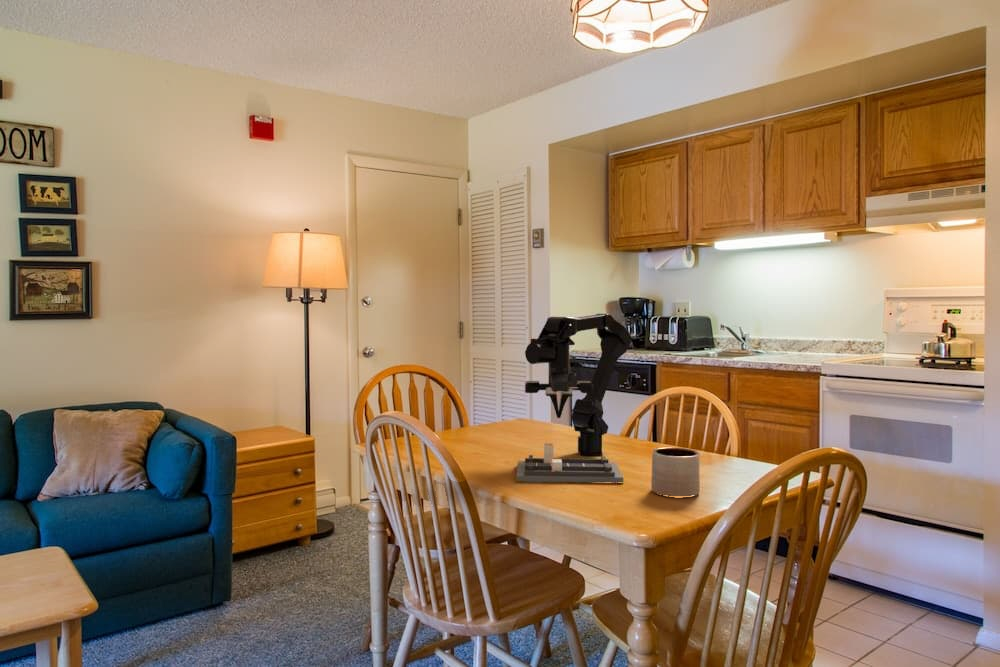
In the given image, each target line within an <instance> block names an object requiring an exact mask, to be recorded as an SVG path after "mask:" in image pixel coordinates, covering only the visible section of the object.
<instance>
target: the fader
mask: <svg viewBox="0 0 1000 667" xmlns="http://www.w3.org/2000/svg"><path fill="white" fill-rule="evenodd" d="M543 458H544V463H552V459H553V458H554V443H549V442H548V443H544V442H543Z"/></svg>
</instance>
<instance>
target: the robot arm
mask: <svg viewBox="0 0 1000 667" xmlns="http://www.w3.org/2000/svg"><path fill="white" fill-rule="evenodd" d="M594 329H596V335H597V336H598V337H599V338H600V344H599V345H600V348H601V349H600V350H601V355H600V357H599V360H598V362H597V365H596V368H595V371H594V373H593V376H592V379H591V381H590V380H578V378H577V373H574V372H573V373H572V372H570V346H574V345H575V344H576V343H575V342H574V340H573V339H571V337H572V336H575V335H576V334H577V333H579V332H583V331H589V330H594ZM631 342H632V335H631V333H630V332H629V330H628V329H627V328H626V327H625V326H624V325H623V324H621V322H619V321H617V320H616V319H614V317H613V316H612V315H611V314H610V313H596V314H592V315H585V316H578V317H572V316H549V317H547V319H546V321H545V324H544V326H543V328H542V329H541V332H540V333H539V335H538V337H537V338H531V339H530V343H529V344H527V346H526V349H525V351H524V355H525V359H526V360H527V362H528V363H529V364H531V365H537V364H538V365H539V364H548V383H540V380H526V382H524V393H526V394H537V393H539V391H545V397H549V398H550V400H551V403H552V405H553V409H554V411H555V414H556V418H557V419H561V417H562V413H563V410H564V407H565V404H566V403H567V400H568V398H569V397H572V396H573V391H579V392H580V393H582V394H585V396H584V397H583V398H581V399H580V398H577V399H576V400H575V402H574V405H573V407H572V410H571V412H572V413H571V420H572V425H573V428H574V432H579V435H578V436H577V452H578V453H579V456H604V454H603V453H604V452H603V436H604V435H606V434H607V433H608V431H609V425H608V424H607V423H606V421H605V420H604V419H603V417H604V416H603V415H604V408H603V403H602V402H603V400H604V397H605V395H606V391H607V389H608V386H609V384H610V381H611V378H612V375H613V373H614V371H615V367H616V366H617V362H618V360H619V358H621V357H623V355H624V354H625V353H626V352H627V351H628V349H629V347H630V344H631ZM556 392H560V396H559V404H558V395H557V394H558V393H556Z"/></svg>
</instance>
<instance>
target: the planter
mask: <svg viewBox="0 0 1000 667" xmlns="http://www.w3.org/2000/svg"><path fill="white" fill-rule="evenodd" d="M700 458H701V454H700V452H699V451H697V450H694V449H692V448H686V447H676V446H673V447H672V446H667V447H666V446H665V447H657V448H654V449H652V451H651V477H650V478H651V481H650V482H651V484H650V485H651V488H650V489H651V491H652V492H653V491H654V492H653V493H655V494H656V493H658V494H661V495H668V496H691V495H696V494H698V493H699V494H700V489H701V488H700V487H701V485H700V484H701V483H700V479H701V477H700V476H701V475H700V472H701V470H700V469H701V468H700V466H701V465H700V464H701V463H700V462H701V461H700V460H701V459H700ZM658 494H657V495H658ZM699 494H698V495H699ZM696 496H697V495H696Z"/></svg>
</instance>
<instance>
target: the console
mask: <svg viewBox="0 0 1000 667" xmlns="http://www.w3.org/2000/svg"><path fill="white" fill-rule="evenodd" d="M516 467H517V468H516V482H517V481H527V482H526V483H543V482H612V483H613V482H615V483H616V482H617V483H618V482H623V483H624V476H623V474H622V472H621V471H620V468H619V466H618V465H617V463H616V462H615V461H613V462H612V461H609V459H608V458H606V456H605V455H600V458H561V457H559V458H556V457H555V458H554V457H553V459H552V463H544V457H542V458H541V457H536V458H535V457H534V455H533V454H532V455H531V454H529V455H528V457H525V458H524V460H517V466H516ZM612 483H611V484H612Z"/></svg>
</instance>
